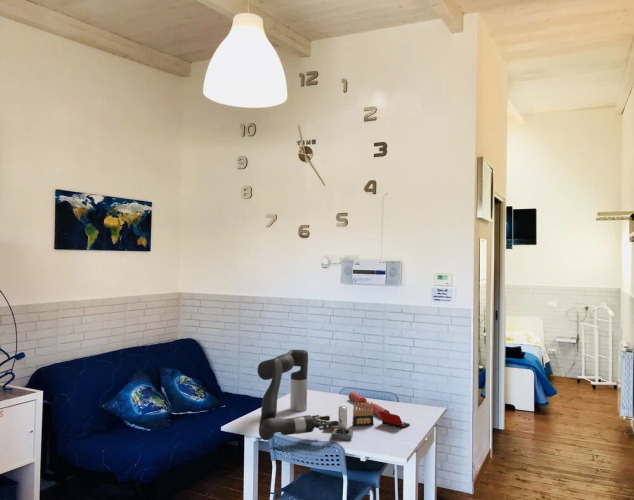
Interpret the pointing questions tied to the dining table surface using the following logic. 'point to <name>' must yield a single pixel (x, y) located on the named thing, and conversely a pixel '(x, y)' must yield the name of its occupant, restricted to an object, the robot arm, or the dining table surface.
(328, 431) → the walnut socket block
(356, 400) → the blood vessel
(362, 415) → the ammunition clip
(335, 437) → the steel bore block
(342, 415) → the steel axle
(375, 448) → the dining table surface
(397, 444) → the dining table surface
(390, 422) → the handheld game console
